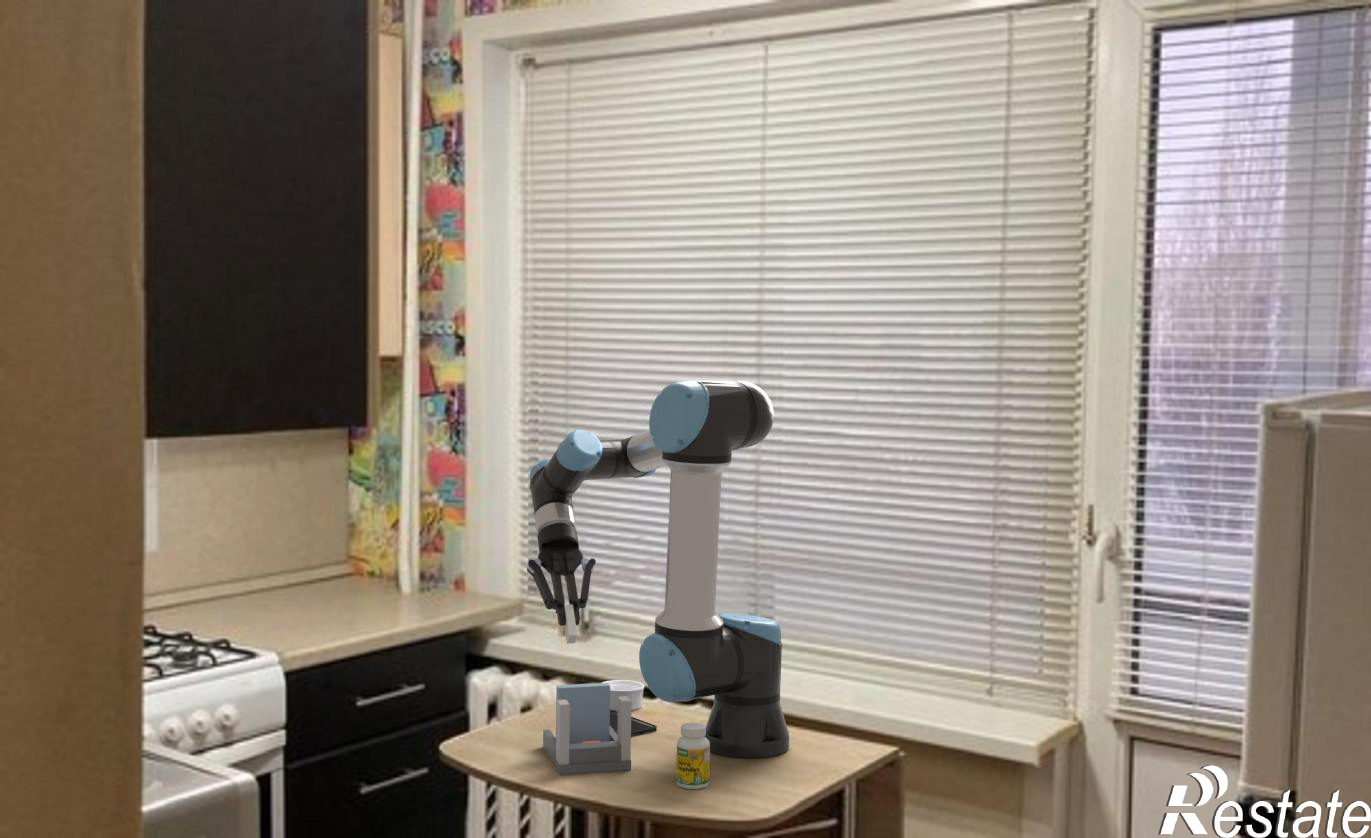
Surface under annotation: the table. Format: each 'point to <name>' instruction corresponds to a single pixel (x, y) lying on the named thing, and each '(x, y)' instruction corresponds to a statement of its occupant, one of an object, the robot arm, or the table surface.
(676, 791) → the table surface
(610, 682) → the ramekin
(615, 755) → the housing
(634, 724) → the phone
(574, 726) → the blue-grey rectangular panel
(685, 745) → the supplement bottle
